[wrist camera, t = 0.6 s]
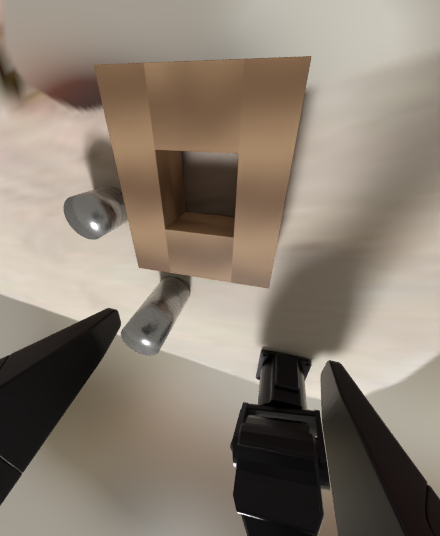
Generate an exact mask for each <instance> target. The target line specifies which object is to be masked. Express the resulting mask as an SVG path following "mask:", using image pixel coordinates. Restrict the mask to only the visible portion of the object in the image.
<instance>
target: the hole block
mask: <svg viewBox="0 0 440 536" xmlns="http://www.w3.org/2000/svg"><path fill="white" fill-rule="evenodd" d="M310 61H311V56H306V57H283V58H255V59H230V60H205V61H179V62H155V63H128V64H102V65H94V68H95V73H96V77H97V82H98V86H99V91H100V95H101V100H102V104H103V109H104V113H105V118H106V122H107V127H108V131H109V136H110V140H111V145H112V149H113V154H114V158H115V163H116V167H117V172H118V176H119V181H120V185H121V190H122V194H123V199H124V203H125V208H126V212H127V217H128V221H129V226H130V230H131V235H132V239H133V244H134V248H135V253H136V257H137V262H138V266H139V268H144V269H150V270H157V271H163V272H169V273H175V274H182V275H188V276H194V277H201V278H207V279H213V280H219V281H226V282H232V283H238V284H244V285H251V286H257V287H263V288H269V285H270V279H271V274H272V268H273V263H274V257H275V252H276V247H277V241H278V236H279V230H280V225H281V219H282V214H283V208H284V203H285V197H286V192H287V187H288V181H289V176H290V170H291V165H292V159H293V154H294V148H295V143H296V138H297V132H298V127H299V121H300V116H301V110H302V105H303V99H304V94H305V89H306V83H307V77H308V72H309V66H310ZM181 151H195V152H218V153H239V158H238V175H237V192H236V208H235V217H230V216H220V215H210V214H200V213H191V212H186V210H185V196H184V181H183V167H182V152H181Z"/></svg>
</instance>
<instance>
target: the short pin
mask: <svg viewBox="0 0 440 536" xmlns="http://www.w3.org/2000/svg"><path fill="white" fill-rule="evenodd" d="M64 214H65V217H66V219H67V221H68V223H69V224H70V226H71V227H72V228H73V229H74V230H75V231H76V232H77V233H78V234H80V235H81V236H83V237H85V238H88V239H98V238H100V237H102V236H103V235H105V234H107V233H108V232H110V231H112V230H114V229H115V228H117V227H119V226H120V225H122V224H124V223H125V222H127V221H128V217H127V212H126V208H125V203H124V199H123V195H122V193H120V192H119V191H118V190H116V189H115V188H112V187H108V186H105V187H101V188H98V189H94V190H91V191H88V192H85V193H82V194H78V195H75V196H72V197H69V198H68V199H67V200H66V201H65V203H64Z"/></svg>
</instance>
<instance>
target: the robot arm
mask: <svg viewBox="0 0 440 536" xmlns="http://www.w3.org/2000/svg"><path fill="white" fill-rule="evenodd" d="M120 326H121V320H120V317H119V313H118V311H117V310H116V309H111V308H107V309H105V310H103V311H101V312H98V313H96V314H94V315H92V316H90V317H88V318H86V319H84V320H82V321H80V322H77V323H75V324H73V325H71V326H69V327H67V328H65V329H63V330H61V331H59V332H56V333H54V334H52V335H50V336H48V337H46V338H44V339H42V340H40V341H37V342H35V343H33V344H31V345H29V346H27V347H25V348H23V349H21V350H19V351H16V352H14V353H12V354H11V355H8V356H6V357H4V358H1V359H0V505H1V504H2V502H3V501H4V499H5V498H6V497H7V495H8V494H9V492H10V491H11V489H12V488H13V487H14V485H15V484H16V482H17V481H18V479H19V478H20V477H21V475H22V473H23V472H24V471H25V469H26V468H27V466H28V465H29V463H30V462H31V460H32V459H33V458H34V456H35V455H36V453H37V452H38V450H39V449H40V447H41V446H42V445H43V443H44V442H45V440H46V439H47V437H48V436H49V435H50V433H51V432H52V430H53V429H54V427H55V426H56V425H57V423H58V422H59V420H60V419H61V417H62V416H63V414H64V413H65V412H66V410H67V409H68V407H69V406H70V404H71V403H72V402H73V400H74V399H75V397H76V396H77V394H78V393H79V392H80V390H81V388H82V387H83V386H84V384H85V383H86V381H87V380H88V379H89V377H90V375H91V374H92V373H93V371H94V370H95V369H96V367H97V366H98V364H99V362H100V361H101V359H102V358H103V357H104V355H105V353H106V351H107V350H108V348H109V346H110V344H111V343H112V341H113V339H114V337H115V336H116V334H117V332H118V330H119V328H120ZM310 367H311V361H310V360H308V359H304V358H299V357H294V356H290V355H285V354H280V353H276V352H271V351H266V350H262V351H261V354H260V359H259V364H258V369H257V374H256V378H257V379H258V380H260V385H259V397H258V405H256V404H248V403H246V402H245V403H244V402H243V405H242V409H241V410H240V413H239V417H238V421H237V424H236V428H235V432H234V436H233V439H232V442H231V446H230V448H231V450H232V452H233V464H234V468H235V469H236V476H235V484H234V491H233V497H234V502H235V506H236V510H237V512H238V513H240V514H241V516H242V519H243V522H244V526H245V529H246V533H247V536H318V534H319V531H320V528H321V525H322V522H323V520H324V508H323V499H322V490H321V489H325V490H330V483H329V475H328V467H329V474H330V481H331V488H332V495H333V502H334V509H335V516H336V523H337V530H338V536H440V499H439V498H438V496H437V495H436V493H435V492H434V491H433V489H432V488H431V487H430V486H429V485H427V481H426V480H425V478H424V477H423V476H422V474H421V473H420V472H419V470H418V469H417V467H416V466H415V465H414V463H413V462H412V461H411V459H410V458H409V456H408V455H407V454H406V452H405V451H404V450H403V448H402V447H401V445H400V444H399V443H398V441H397V440H396V439H395V437H394V436H393V434H392V433H391V432H390V430H389V429H388V427H387V426H386V425H385V423H384V422H383V421H382V419H381V418H380V416H379V415H378V414H377V412H376V411H375V410H374V408H373V407H372V405H371V404H370V403H369V401H368V400H367V399H366V397H365V396H364V394H363V393H362V392H361V390H360V389H359V388H358V386H357V385H356V383H355V382H354V381H353V379H352V378H351V377H350V375H349V374H348V372H347V371H346V370H345V368H344V367H343V366H342V364H341V363H339V362H335V361H331V360H329V361H328V362H327V363H326V365H325V367H324V369H323V371H322V373H321V406H322V424H323V432H324V439H325V445H324V439H323V432H322V424H321V418H320V411H319V410H314V411H312V410H307V405H306V393H305V382H304V381H305V379H306V377H307V374H308V372H309V370H310ZM315 436H317V437H318V438H317V437H315ZM325 446H326V453H327V460H328V467H327V460H326V453H325Z"/></svg>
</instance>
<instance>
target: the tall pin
mask: <svg viewBox="0 0 440 536" xmlns="http://www.w3.org/2000/svg"><path fill="white" fill-rule="evenodd" d="M189 296H190V291H189V288H188V286H187V285H186V284H185V283H184V282H183V281H182V280H180V279H178V278H175V277H166V278H164V279H163V280H162V281H161V282H160V283H159V284H158V286H157V287H156V288H155V289H154V291H153V292H152V293H151V294H150V296H149V297H148V298H147V299H146V301H145V302H144V303H143V304H142V306H141V307H140V308H139V309H138V311H137V312H136V313H135V314H134V316H133V317H132V318H131V319H130V321H129V322H128V323H127V324H126V326H125V327H124V328H123V329H122V331H121V337H122V339H123V341H124V342H125V344H126V345H127V346H128V347H130V348H131V349H132V350H134V351H136V352H138V353H140V354H144V355H155V354H157V353H158V352H159V350H160V348H161V347H162V345H163V343H164V341H165V339H166V338H167V336H168V334H169V332H170V330H171V329H172V327H173V325H174V323H175V321H176V320H177V318H178V316H179V314H180V312H181V311H182V309H183V307H184V305H185V303H186V302H187V300H188V298H189Z"/></svg>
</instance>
